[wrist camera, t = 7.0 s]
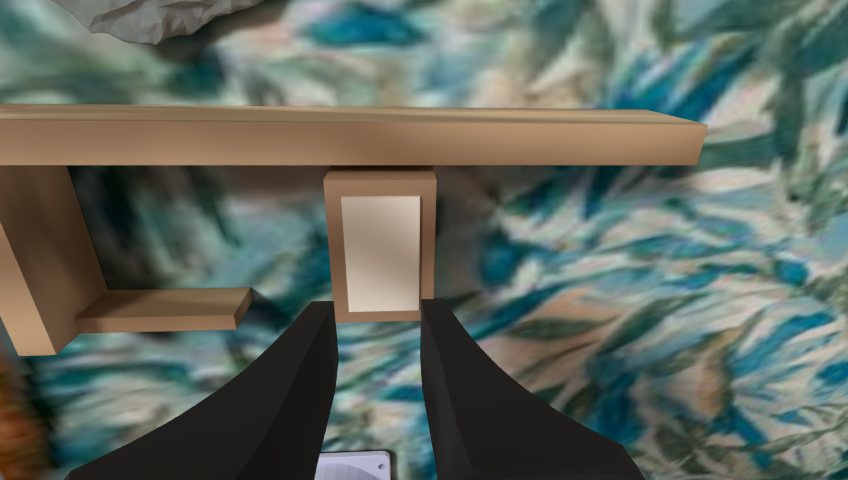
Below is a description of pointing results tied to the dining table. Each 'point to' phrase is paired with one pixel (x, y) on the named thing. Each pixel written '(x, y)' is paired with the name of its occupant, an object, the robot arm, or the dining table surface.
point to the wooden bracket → (248, 145)
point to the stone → (149, 16)
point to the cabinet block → (381, 240)
